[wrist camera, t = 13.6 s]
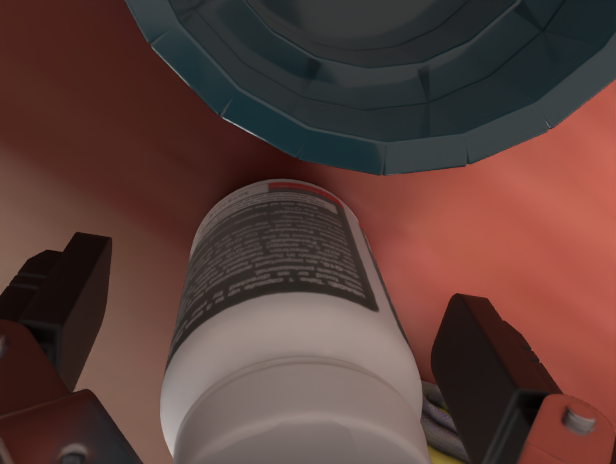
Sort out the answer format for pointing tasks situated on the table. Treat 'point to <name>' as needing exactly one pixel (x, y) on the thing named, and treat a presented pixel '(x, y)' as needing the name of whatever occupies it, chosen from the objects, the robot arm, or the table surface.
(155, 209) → the table surface
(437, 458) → the dish towel
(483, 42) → the bowl
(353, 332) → the pill bottle
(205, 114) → the table surface
